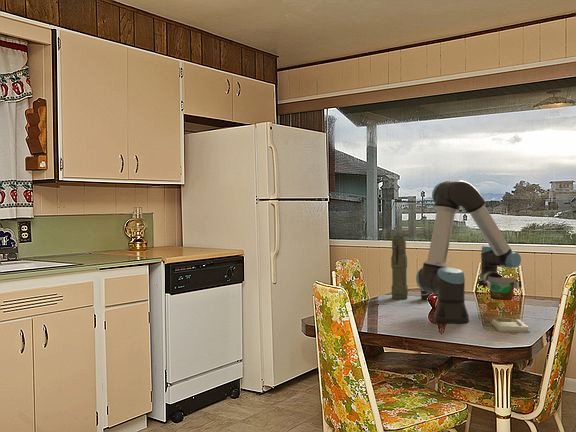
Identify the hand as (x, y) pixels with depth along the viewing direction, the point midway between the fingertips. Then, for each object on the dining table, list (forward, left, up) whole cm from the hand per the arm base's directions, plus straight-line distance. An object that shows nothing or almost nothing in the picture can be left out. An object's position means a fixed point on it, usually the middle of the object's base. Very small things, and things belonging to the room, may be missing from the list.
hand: (503, 285), depth 259 cm
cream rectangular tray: (0, -10, -16) cm, 19 cm away
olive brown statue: (-42, +64, -16) cm, 78 cm away
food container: (-1, +3, -7) cm, 8 cm away
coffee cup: (-27, +62, -16) cm, 69 cm away
